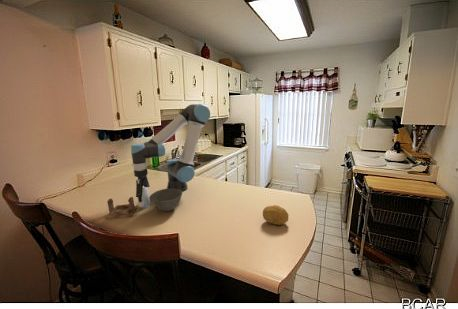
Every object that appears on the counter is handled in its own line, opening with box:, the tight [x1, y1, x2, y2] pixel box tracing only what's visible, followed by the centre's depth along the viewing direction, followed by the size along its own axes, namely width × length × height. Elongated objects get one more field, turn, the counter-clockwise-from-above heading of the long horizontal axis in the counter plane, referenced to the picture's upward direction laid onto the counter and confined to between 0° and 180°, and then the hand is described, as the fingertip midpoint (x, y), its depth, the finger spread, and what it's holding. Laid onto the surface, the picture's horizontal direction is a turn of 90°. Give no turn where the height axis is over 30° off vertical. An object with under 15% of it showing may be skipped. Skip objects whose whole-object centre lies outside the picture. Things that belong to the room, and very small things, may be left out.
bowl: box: [149, 188, 183, 212], centre depth 131 cm, size 19×19×10 cm
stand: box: [105, 196, 139, 220], centre depth 129 cm, size 14×12×9 cm
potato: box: [262, 204, 289, 226], centre depth 112 cm, size 10×13×9 cm
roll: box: [140, 186, 151, 209], centre depth 136 cm, size 6×6×12 cm
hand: (144, 201), depth 137 cm, fingers open, 13 cm apart
